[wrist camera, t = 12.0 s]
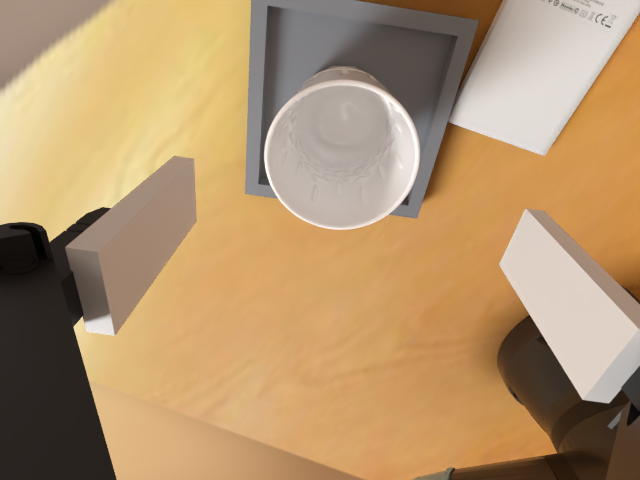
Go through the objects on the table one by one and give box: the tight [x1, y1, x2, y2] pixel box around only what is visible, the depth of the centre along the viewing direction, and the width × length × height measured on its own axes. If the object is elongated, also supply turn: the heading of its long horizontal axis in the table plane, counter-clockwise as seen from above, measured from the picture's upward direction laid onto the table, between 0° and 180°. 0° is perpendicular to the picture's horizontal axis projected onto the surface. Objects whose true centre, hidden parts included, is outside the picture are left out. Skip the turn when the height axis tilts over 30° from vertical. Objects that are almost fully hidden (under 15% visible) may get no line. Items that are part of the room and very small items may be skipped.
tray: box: [245, 0, 479, 218], centre depth 27 cm, size 14×14×2 cm
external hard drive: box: [448, 0, 640, 156], centre depth 25 cm, size 2×8×12 cm
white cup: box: [264, 66, 420, 230], centre depth 23 cm, size 8×8×10 cm
